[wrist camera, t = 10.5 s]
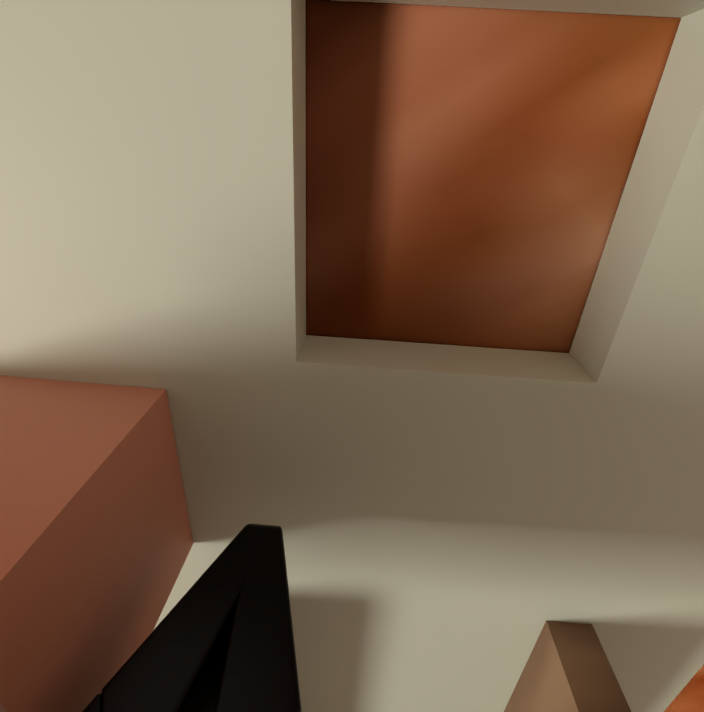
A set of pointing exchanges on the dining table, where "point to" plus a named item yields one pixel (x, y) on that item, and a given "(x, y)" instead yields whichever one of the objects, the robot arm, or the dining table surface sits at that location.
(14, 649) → the block
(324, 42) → the dining table surface
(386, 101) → the dining table surface
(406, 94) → the dining table surface
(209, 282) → the board
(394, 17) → the dining table surface
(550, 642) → the cubby
